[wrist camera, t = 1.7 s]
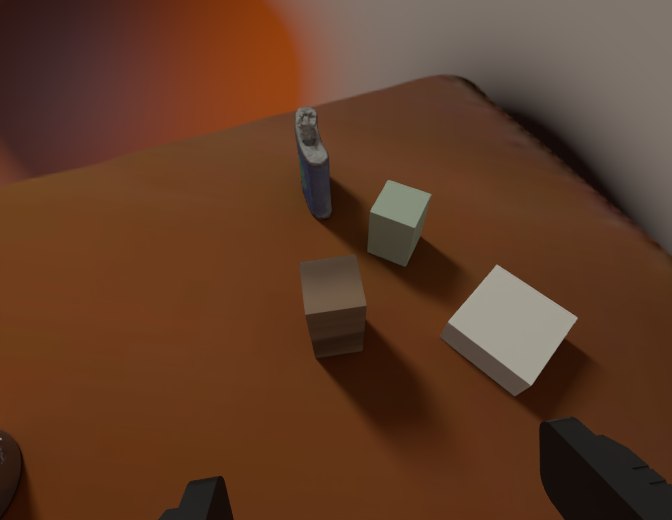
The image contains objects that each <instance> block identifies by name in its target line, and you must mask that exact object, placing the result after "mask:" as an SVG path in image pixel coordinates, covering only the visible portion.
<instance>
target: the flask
mask: <svg viewBox="0 0 672 520" xmlns="http://www.w3.org/2000/svg"><path fill="white" fill-rule="evenodd" d="M295 136H296V142H297V149H298V156H299V163H300V170H301V178H302V180H301V183H302V189H303V193H304V196H305V199H306V202H307V204H308V208H309V209H310V212H311V213H312V215H313V216H314V217H316V219H320V220H323V219H321V218H324V219H326V218H329V217H330V215H331V213H332V206H331V193H330V174H329V155H328V152H327V150H326V149H325V147H324V146H323V144H322V141H321V138H320V135H319V131H318V126H317V112H316V110H315V109H312V108H311V107H303V108H300V109H298V110H297V112H296V114H295ZM319 217H320V218H319Z"/></svg>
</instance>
